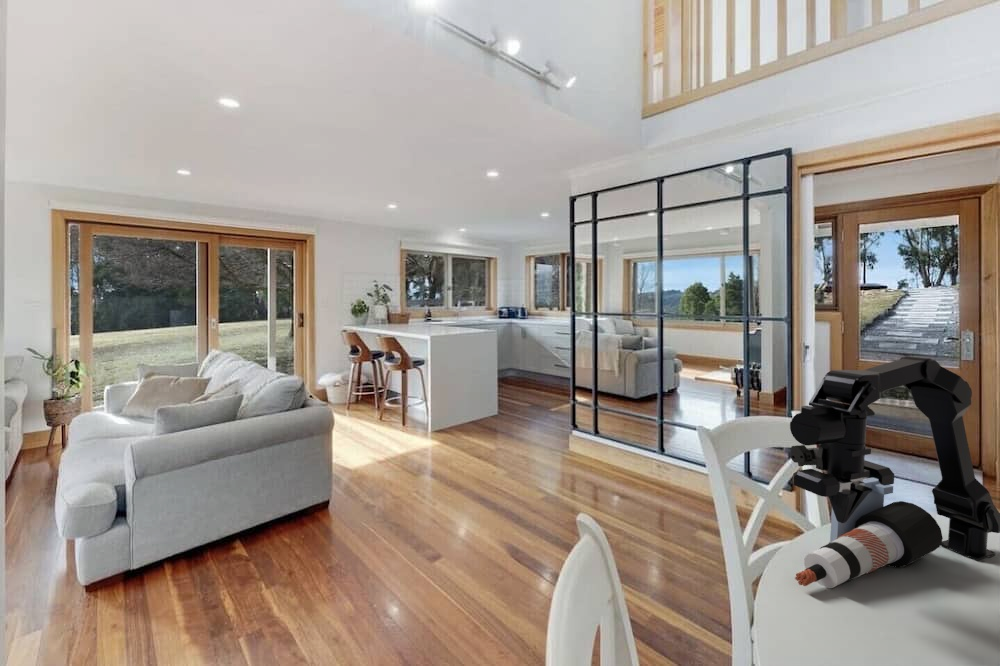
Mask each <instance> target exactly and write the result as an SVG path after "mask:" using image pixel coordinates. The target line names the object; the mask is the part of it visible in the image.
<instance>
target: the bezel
mask: <svg viewBox="0 0 1000 666" xmlns="http://www.w3.org/2000/svg"><path fill="white" fill-rule="evenodd" d="M863 482H864V486H866V487H869V488H871V489H872V492H870V493H869V494H868V495H867V496H866V497H865V498H864V500H863V501H862V502H861V503H860V504H859V506H858V507H857V508H856V509H855V511H854V512H853V513H852V515H851V516H850V517H849V519H848V520H847V521H846V523H840V522H838V521H837V520H836V517H835V514H834V511H833V508H832V507H831V514H830V515H831V517H830V540H829V542H832V541H834V540H836V539H837V538H838V537H839V536H841V535H843V534H846V533H848V532H850V531H852V530H853V529H854V528H855V524H856V521H857V520H858V519H859V518H860V517H861V516H863V515H865V514H868V513H870V512H872V511H875V510H877V509H879V508H881V507H884V506H885V504H884V502H885V501H884V500H885V496H886V495H889V494H890V495H891V494H894V486H893V485H892V484H890V485H885V486H884V485H881V484H880V482H879V481H878V479H876V478H868V479H863Z"/></svg>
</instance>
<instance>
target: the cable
mask: <svg viewBox="0 0 1000 666" xmlns="http://www.w3.org/2000/svg"><path fill="white" fill-rule="evenodd" d="M942 541H943V532H942V529H941V527H940V525H939V524H938V522H937V520H936V519H935V518H934V517H933V516H932V515H931V514H930V513H929V512H928V511H927V510H925V509H924V508H922V507H921V506H919V505H917V504H914V503H912V502H908V501H907V502H906V501H901V500H900V501H893V502H890V503H888V504H886V505H884V506H883V507H881V508H879V509H877V510H875V511H872V512H870V513H868V514H865V515H863V516H861V517H860V518H859V519H858V520H857V521H856V524H855V528H854V529H853V530H852V531H850V532H848V533H846V534H843V535H841V536H839V537H838V538H837V539H836V540H834V541H832V542H830V541H829V542H828V543H827V544H825V545H823V546H821V547H820V548H818V549H816V550H813V551H812V552H810V553H808V554H806V556H805V557H804V563H803V564H804V568H805V569H804V570H802V571H799V572H797V573H795V577H794V580H796V582H797V584H798V585H799V586H803V587H807V586H809V585H811V584H813V583H817V584H818V585H821V586H823V587H824V588H826V589H833V588H835V587H837V586H839V585H841V584H843V583H846V582H849V581H850V580H853V579H856V578H859V577H860V576H863V575H864V574H865V575H867V574H870V573H872V572H874V571H875V570H877V569H880V567H882V568H883V567H884V566H888V567H891V568H897V569H899V568H902V567H906V566H908V565H910V564H912V563H914V562H916V561H917V560H919V559H922V558H923V557H924V556H926V555H929V554H930V553H932V552H934V551H937V549H939V548H940V547H941V542H942Z"/></svg>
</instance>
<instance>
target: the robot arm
mask: <svg viewBox="0 0 1000 666" xmlns="http://www.w3.org/2000/svg"><path fill="white" fill-rule="evenodd" d="M902 386H903V387H904V388H905V389H906V390H907V391H908V392H909V393H910V395H911V397H912V400H913V402H914V405H915V407H916V408H917V409H918V410H919V411H920V412H921V413H922V414H924V415H925V416H926V417H927V418H928V421H929V425H930V429H931V435H932V438H933V443H934V448H935V453H936V457H937V461H938V467H939V469H940V471H939V472H940V475H941V480H940V481H939V482H938V483H937V485H936V486H934V487H933V488H932V489H931V492H932V495H933V504H934V505H935V509H936V514H937V515H938V516H942V517H945V518H948V519H949V521H948V537H947V539H946V540H942V542H941V545H940V547H941V546H942V547H944V548H946V549H949V550H951V551H952V552H956V553H958V554H960V555H963V556H966V557H968V558H971V559H973V560H976V561H980V560H983V559H986V558H989V557H993V556H996V552H995V551H993V550H990V549H988V534H989V533H995V534H1000V512H999V510H998V509H997V507H996V505H994V502H993V498H992V496H991V494H990V491H989V490H988V489H987V488H986V487H985V486H984V485H983V484H982V483H981V482H980V481H979V480H978V479H977V478H976V477H975V472H974V466H973V461H972V456H971V452H970V448H969V443H968V437H967V432H966V428H965V423H964V418H963V416H964V415H965V413H966V412H967V411H968V410H969V408H970V407H971V406H972V395H973V391H972V388H971V386H970V384H969V382H968V381H967V380H964V379H963V378H962V376H960V375H958V374H957V373H955V372H953V371H951V370H949V369H947V368H945V367H943V366H942V365H941V364H940V363H938V361H936V359H932V358H930V357H920V356H907V355H906V356H903V357H901V358H899V359H897V360H894V361H891V362H890V361H889V362H886V363H883V364H880V365H876V366H873V367H869V368H866V369H863V370H862V369H861V370H860V369H833V370H830V371H828V372H827V373H825V375H824V377H823V378H822V379H821V382H820V383H819V385H818V386H817V388H816V390H815V392H813V393H814V394H813V395H812V397H811V399H810V400H809V402H808V405H802V406H801V412H799V413H796V414H795V415H794V416H793V417H792V419H791V421H790V422H789V429H790V433H791V435H792V437H793V438H794V439H795V441H796V442H798V443H800V444H801V445H800V444H799V445H798V444H797V445H792V446H791V447H790V459H791V461H792V462H793V463H797V466H798V467H805V466H815V469H813V468H805V469H800V470H797V471H795V472H794V473H792V485H793V486H795V487H797V488H800V489H802V490H804V491H807V492H810V493H811V494H815V495H817V496H819V497H825V498H827V497H828V499H829V503H830V505H831V509H832V508H833V511H834V514H835V517H836V520H837V521H838V522H840V523H846V521H847V520H848V519H849V517H850V516H851V515H852V513H853V512H854V511H855V509H856V508H857V507H858V506H859V504H860V503H861V502H862V501H863V500H864V498H865V497H866V496H867V495H868V494H869V493H870V492H872V489H871V488H869V487H866V486H864V482H863V480H865V479H871V478H876V479H878V481H879V482H880V484H881V485H884V486H885V485H893V484H895V473H894V472H893V470H891V468H890V467H889V466H885V465H882V464H879V463H875V462H872V461H868V460H865V456H868V455H872V448H871V447H867V446H866V438H867V436H866V435H867V423H868V422H867V418H868V417H872V416H875V415H876V414H875V411H874V410H873V409H872V408H871V407H869V406H870V405H872V404H873V403H875V402H877V401H879V400H880V399H881V396H882V393H884V392H887V391H890V390H893V389H897V388H899V387H900V388H901V387H902ZM816 445H818V447H808V448H807V446H816ZM818 470H820V471H818ZM821 471H825V472H826V473H825V472H821Z"/></svg>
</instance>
